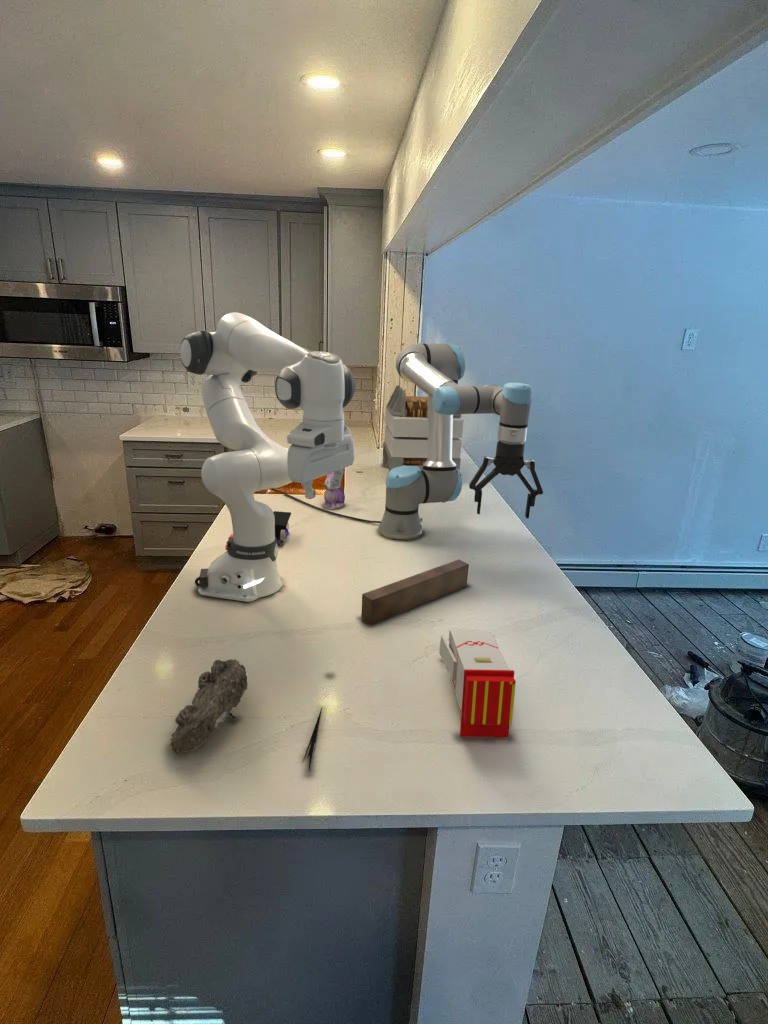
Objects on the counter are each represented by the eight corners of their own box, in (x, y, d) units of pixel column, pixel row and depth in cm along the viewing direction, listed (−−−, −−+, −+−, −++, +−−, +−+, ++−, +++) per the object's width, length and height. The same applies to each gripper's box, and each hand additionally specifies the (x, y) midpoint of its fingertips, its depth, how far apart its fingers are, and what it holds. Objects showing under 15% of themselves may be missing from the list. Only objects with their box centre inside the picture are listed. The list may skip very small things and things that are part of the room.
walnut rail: (371, 625, 142) (372, 600, 139) (361, 618, 145) (362, 593, 142) (467, 585, 164) (469, 564, 162) (456, 580, 167) (458, 559, 165)
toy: (489, 613, 130) (525, 677, 101) (485, 667, 133) (518, 744, 104) (437, 612, 130) (457, 676, 101) (434, 666, 133) (453, 743, 103)
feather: (331, 679, 122) (336, 673, 122) (307, 777, 96) (313, 769, 95) (324, 675, 122) (329, 669, 121) (298, 772, 95) (304, 764, 95)
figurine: (327, 510, 218) (328, 473, 213) (318, 502, 227) (318, 466, 222) (350, 508, 223) (351, 471, 218) (339, 500, 231) (340, 464, 226)
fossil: (195, 660, 117) (247, 628, 112) (227, 691, 120) (279, 661, 115) (146, 746, 98) (206, 711, 93) (185, 779, 101) (245, 748, 96)
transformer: (381, 463, 289) (385, 382, 275) (444, 464, 292) (450, 384, 279) (389, 482, 257) (393, 392, 243) (459, 483, 261) (467, 394, 247)
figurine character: (286, 550, 185) (292, 529, 198) (285, 530, 182) (291, 509, 195) (265, 550, 185) (273, 528, 198) (264, 529, 181) (272, 509, 195)
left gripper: (338, 422, 131) (337, 479, 136) (281, 436, 114) (282, 501, 119) (361, 425, 128) (360, 484, 133) (306, 441, 111) (307, 507, 116)
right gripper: (465, 441, 152) (458, 515, 159) (560, 447, 149) (549, 523, 156) (465, 435, 159) (458, 506, 166) (556, 441, 156) (545, 514, 163)
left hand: (323, 492), depth 126 cm, fingers open, 8 cm apart
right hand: (502, 514), depth 161 cm, fingers open, 13 cm apart
